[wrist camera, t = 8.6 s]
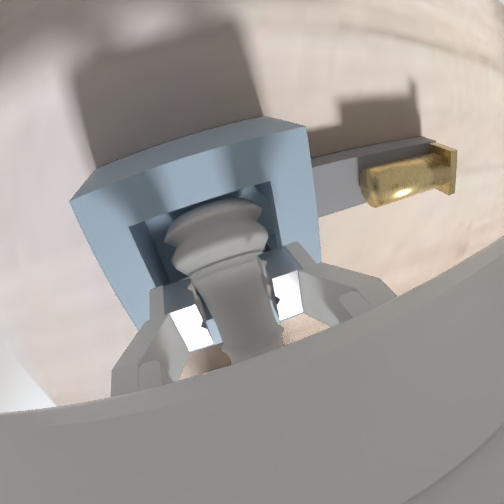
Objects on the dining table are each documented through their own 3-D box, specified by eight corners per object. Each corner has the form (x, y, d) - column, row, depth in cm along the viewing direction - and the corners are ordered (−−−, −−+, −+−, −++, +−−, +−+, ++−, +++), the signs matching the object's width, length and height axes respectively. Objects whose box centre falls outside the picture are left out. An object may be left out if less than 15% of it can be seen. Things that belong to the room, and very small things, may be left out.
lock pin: (434, 141, 16) (458, 150, 14) (433, 182, 18) (455, 193, 16) (357, 157, 15) (382, 167, 13) (360, 205, 17) (382, 220, 15)
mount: (418, 96, 16) (475, 107, 12) (419, 209, 21) (464, 238, 17) (96, 168, 13) (69, 201, 9) (155, 301, 18) (159, 361, 14)
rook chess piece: (247, 218, 16) (298, 362, 15) (164, 242, 14) (217, 394, 14) (270, 184, 11) (339, 378, 10) (155, 214, 10) (230, 426, 9)
